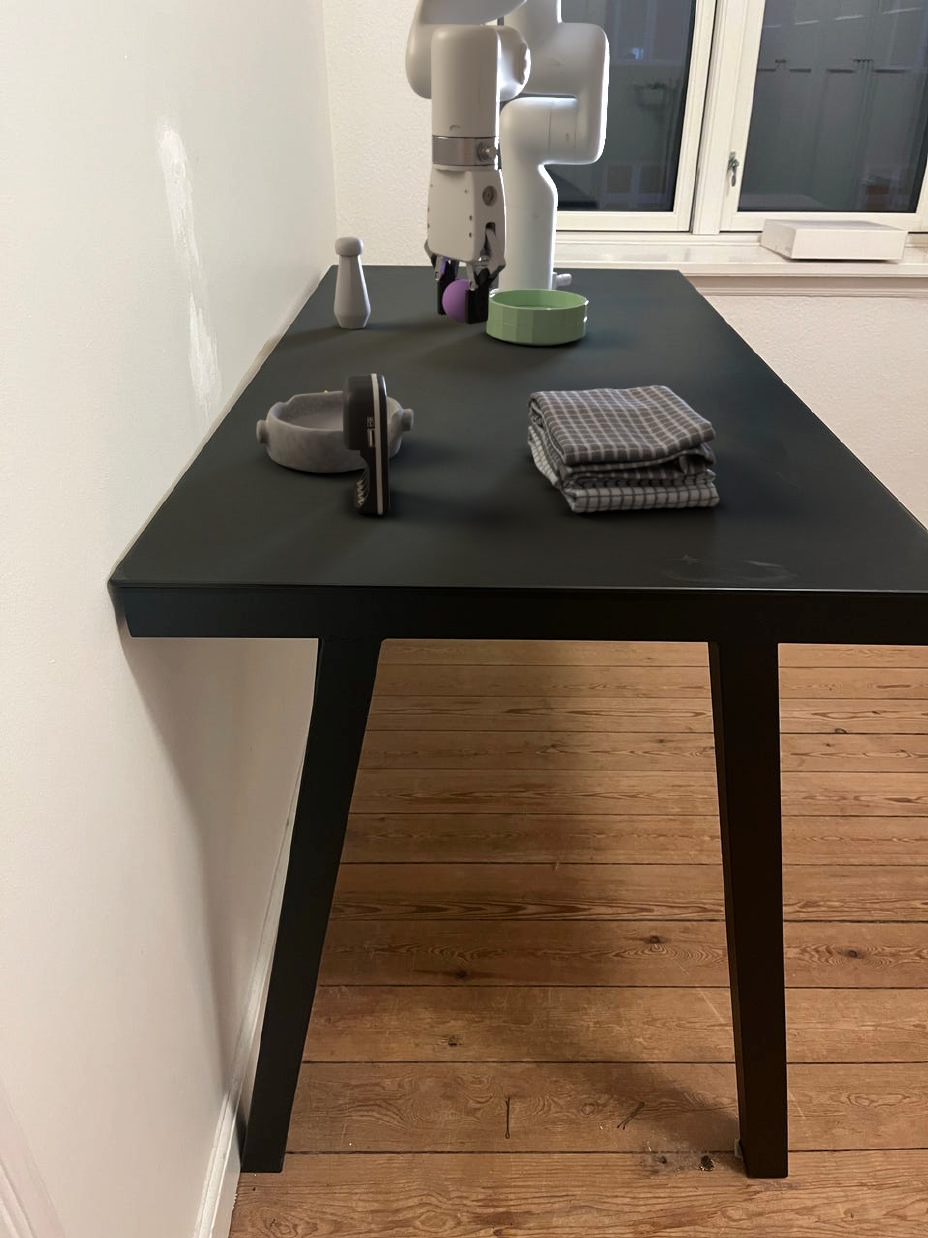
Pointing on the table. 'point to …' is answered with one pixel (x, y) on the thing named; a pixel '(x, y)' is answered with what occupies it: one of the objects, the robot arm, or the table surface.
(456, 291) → the ball
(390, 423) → the dish
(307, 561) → the table surface
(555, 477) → the towel
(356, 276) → the salt shaker
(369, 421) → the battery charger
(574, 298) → the bowl
